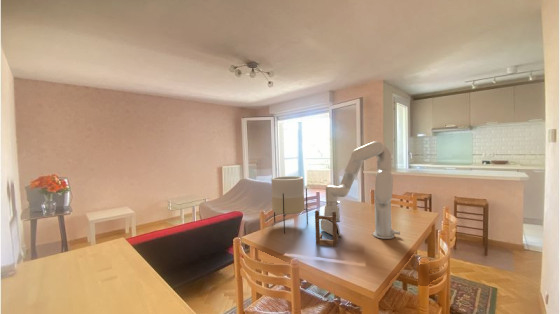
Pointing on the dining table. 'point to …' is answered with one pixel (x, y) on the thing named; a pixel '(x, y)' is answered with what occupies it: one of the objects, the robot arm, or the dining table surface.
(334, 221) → the brown wooden frame
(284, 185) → the planter
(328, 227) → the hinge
